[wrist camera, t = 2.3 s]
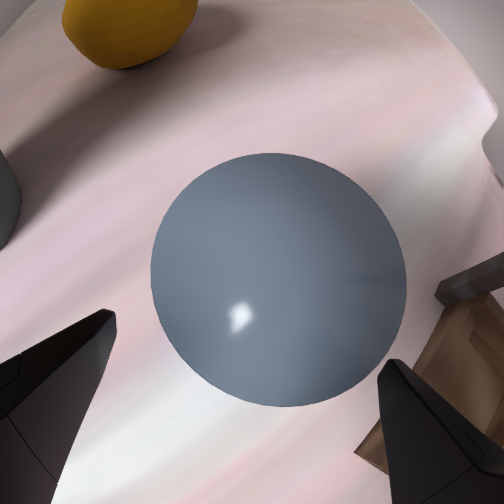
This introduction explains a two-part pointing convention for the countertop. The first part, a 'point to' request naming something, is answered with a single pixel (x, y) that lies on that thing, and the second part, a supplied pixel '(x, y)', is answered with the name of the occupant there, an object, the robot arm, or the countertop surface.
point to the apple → (125, 28)
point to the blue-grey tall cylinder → (278, 279)
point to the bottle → (8, 201)
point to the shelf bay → (462, 355)
